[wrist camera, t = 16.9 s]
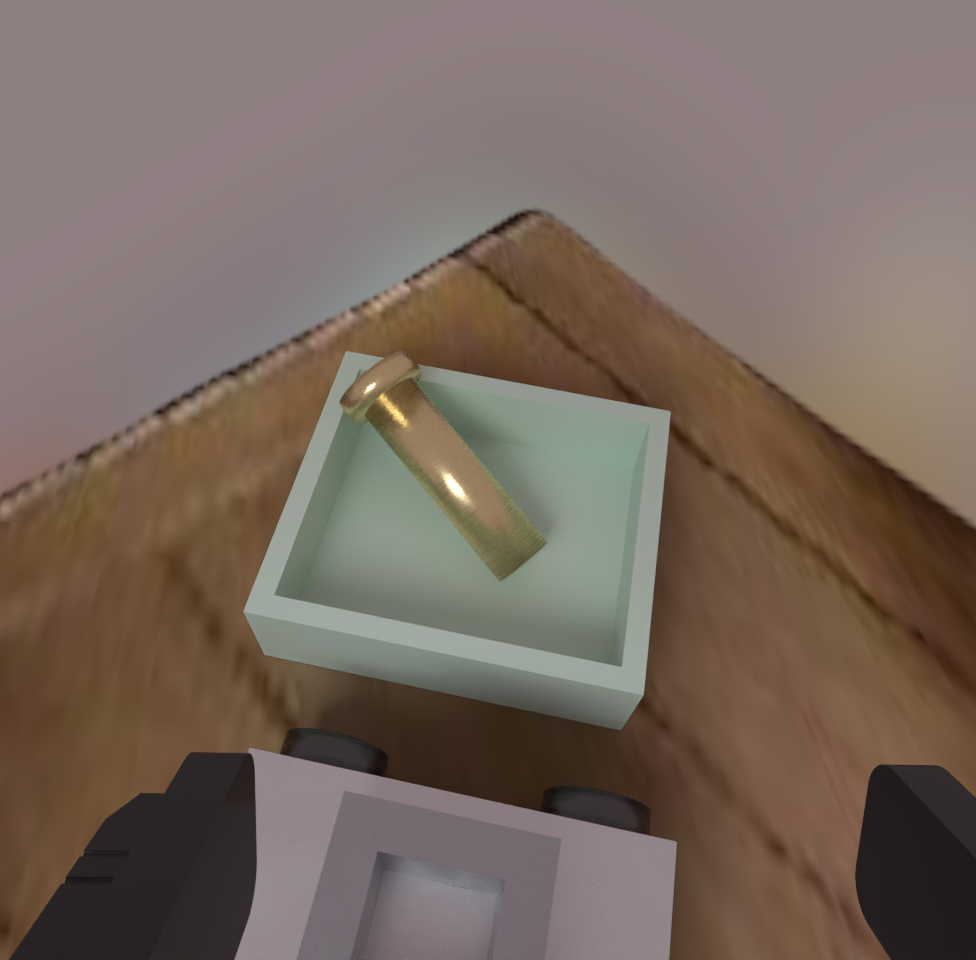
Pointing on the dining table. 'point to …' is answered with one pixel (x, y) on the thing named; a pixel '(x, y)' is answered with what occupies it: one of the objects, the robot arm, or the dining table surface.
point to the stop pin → (442, 463)
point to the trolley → (445, 867)
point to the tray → (455, 565)
